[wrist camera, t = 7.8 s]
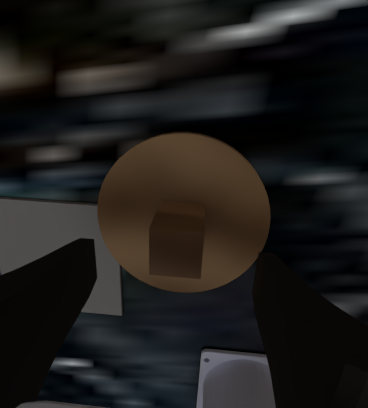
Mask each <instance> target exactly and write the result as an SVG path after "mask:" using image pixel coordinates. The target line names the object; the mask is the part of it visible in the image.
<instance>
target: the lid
mask: <svg viewBox="0 0 368 408" xmlns="http://www.w3.org/2000/svg"><path fill="white" fill-rule="evenodd" d="M97 216H98V223H99V228H100V232H101V235H102V238H103V240H104V242H105V244H106V246H107V248H108V250H109V251H110V253H111V254H112V256H113V257H114V258H115V260H116V261H117V262H118V263H119V264H120V265H121V266H122V267H123V268H124V269H125V270H126V271H128V272H129V273H130V274H131V275H133V276H134V277H136V278H137V279H139V280H141V281H143V282H145V283H147V284H149V285H151V286H154V287H157V288H160V289H164V290H168V291H174V292H187V293H190V292H201V291H206V290H211V289H214V288H217V287H220V286H222V285H225V284H227V283H229V282H231V281H232V280H234V279H236V278H237V277H239V276H240V275H241V274H243V273H244V272H245V271H246V270H247V269H248V268H249V267H250V266H251V265H252V264H253V263H254V261H255V260H256V259H257V258H258V254H259V252H261V251H262V249H263V247H264V245H265V242H266V240H267V237H268V233H269V228H270V219H271V218H270V205H269V200H268V196H267V193H266V190H265V187H264V185H263V183H262V181H261V179H260V177H259V176H258V174H257V172H256V171H255V169H254V168H253V167H252V165H251V164H250V162H249V161H248V160H247V159H246V158H245V157H244V156H243V155H242V154H241V153H239V152H238V151H237V150H236V149H234V148H233V147H232V146H230V145H228V144H227V143H225V142H223V141H221V140H219V139H216V138H214V137H211V136H208V135H204V134H200V133H194V132H171V133H164V134H161V135H157V136H154V137H151V138H149V139H147V140H144V141H142V142H141V143H139V144H137V145H136V146H134V147H133V148H131V149H130V150H129V151H127V152H126V153H125V154H124V155H123V156H122V157H120V158H119V159H118V161H117V162H116V163H115V164H114V165H113V166H112V168H111V169H110V171H109V172H108V174H107V175H106V177H105V179H104V182H103V184H102V186H101V190H100V193H99V198H98V205H97Z"/></svg>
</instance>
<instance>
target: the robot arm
mask: <svg viewBox="0 0 368 408" xmlns="http://www.w3.org/2000/svg"><path fill="white" fill-rule="evenodd" d="M96 280H97V268H96V256H95V243H94V239H88V238H79V239H77V240H75V241H72V242H70V243H68V244H66V245H64V246H63V247H61V248H59V249H57V250H55V251H53V252H51V253H49V254H47V255H45V256H43V257H41V258H39V259H37V260H35V261H32V262H30V263H28V264H26V265H24V266H22V267H20V268H17V269H15V270H13V271H10V272H8V273H5V274H3V275H0V408H105V407H96V406H88V405H79V404H70V403H61V402H53V401H36V399H37V396H38V394H39V392H40V389H41V387H42V385H43V383H44V380H45V378H46V376H47V374H48V371H49V369H50V367H51V365H52V363H53V361H54V358H55V356H56V354H57V352H58V350H59V348H60V346H61V345H62V343H63V341H64V339H65V338H66V336H67V334H68V332H69V331H70V329H71V327H72V326H73V324H74V322H75V321H76V319H77V317H78V316H79V314H80V312H81V311H82V309H83V307H84V306H85V304H86V302H87V300H88V299H89V297H90V294H91V292H92V290H93V287H94V285H95V282H96ZM252 293H253V301H254V309H255V315H256V319H257V323H258V326H259V330H260V334H261V338H262V342H263V346H264V349H265V353H266V354H256V353H246V352H236V351H225V350H215V349H204V350H202V352H201V362H200V373H199V384H198V394H197V405H196V408H368V326H367V325H366V324H364V323H362V322H360V321H359V320H357V319H355V318H353V317H352V316H350V315H349V314H347V313H345V312H344V311H342V310H341V309H340V308H338V307H337V306H335V305H334V304H332V303H331V302H329V301H328V300H327V299H325V298H324V297H323V296H321V295H320V294H319V293H317V292H316V291H315V290H314V289H312V288H311V287H310V286H309V285H308V284H306V283H305V282H304V281H303V280H302V279H301V278H300V277H298V276H297V275H296V274H295V273H294V272H293V271H292V270H291V269H290V268H289V267H288V266H287V265H286V264H284V263H283V262H282V261H281V260H280V259H279V258H278V257H277V256H276V255H275V254H274V253H263V252H259V254H258V260H257V266H256V272H255V278H254V284H253V290H252ZM206 358H208V359H206ZM35 401H36V402H35Z"/></svg>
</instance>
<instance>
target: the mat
mask: <svg viewBox="0 0 368 408" xmlns="http://www.w3.org/2000/svg"><path fill="white" fill-rule="evenodd" d="M97 205H98V204H95V203H81V202H67V201H53V200H40V199H26V198H12V197H0V270H1V274H2V275H3V274H5V273H8V272H10V271H13V270H15V269H17V268H20V267H22V266H24V265H26V264H28V263H30V262H32V261H35V260H37V259H39V258H41V257H43V256H45V255H47V254H49V253H51V252H53V251H55V250H57V249H59V248H61V247H63V246H64V245H66V244H68V243H70V242H72V241H75V240H77V239H79V238H88V239H94V243H95V256H96V268H97V280H96V282H95V285H94V287H93V290H92V292H91V294H90V297H89V299H88V300H87V302H86V304H85V306H84V307H83V309H82V311H81V312H89V313H99V314H110V315H121V316H122V314H123V298H122V276H121V265H120V264H119V263H118V262H117V261H116V260H115V258H114V257H113V256H112V254H111V253H110V251H109V250H108V248H107V246H106V244H105V242H104V240H103V238H102V235H101V232H100V228H99V223H98V216H97Z"/></svg>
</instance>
